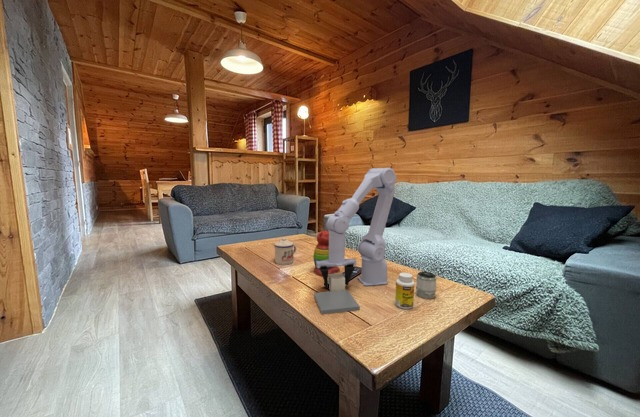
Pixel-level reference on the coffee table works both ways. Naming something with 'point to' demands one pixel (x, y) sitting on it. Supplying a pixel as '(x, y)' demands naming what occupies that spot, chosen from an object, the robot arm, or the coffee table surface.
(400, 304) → the supplement bottle
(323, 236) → the stacking bear
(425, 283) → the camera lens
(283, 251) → the teacup with lid
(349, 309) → the plate
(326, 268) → the robot arm
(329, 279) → the block
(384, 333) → the coffee table surface
